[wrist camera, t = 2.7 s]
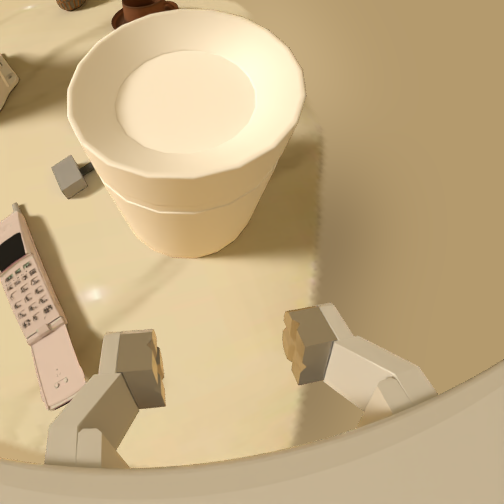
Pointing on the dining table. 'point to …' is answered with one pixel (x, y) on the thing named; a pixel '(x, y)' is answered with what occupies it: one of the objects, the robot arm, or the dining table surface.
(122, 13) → the cup and saucer
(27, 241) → the mobile phone
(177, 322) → the dining table surface
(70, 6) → the vase
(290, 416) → the dining table surface
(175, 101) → the canister
